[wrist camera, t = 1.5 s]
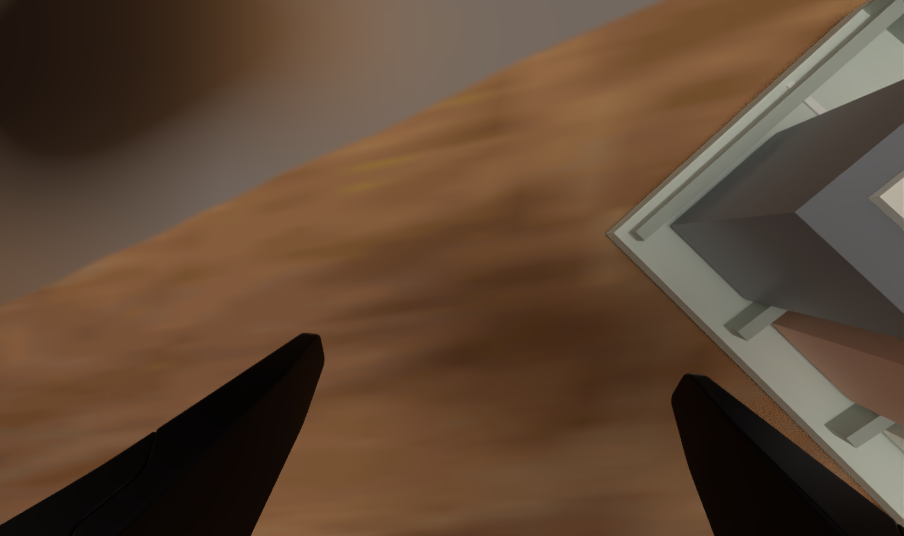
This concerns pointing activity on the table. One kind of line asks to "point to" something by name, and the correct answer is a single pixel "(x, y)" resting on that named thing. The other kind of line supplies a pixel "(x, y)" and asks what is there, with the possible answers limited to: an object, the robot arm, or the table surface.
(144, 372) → the table surface
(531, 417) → the table surface
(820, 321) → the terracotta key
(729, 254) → the black block
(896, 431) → the cream box
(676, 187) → the pale green divided tray
